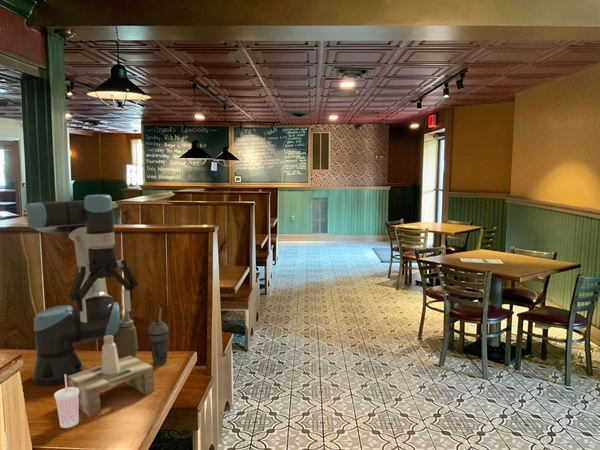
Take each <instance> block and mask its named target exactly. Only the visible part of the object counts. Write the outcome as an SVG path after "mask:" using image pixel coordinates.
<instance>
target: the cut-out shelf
mask: <svg viewBox="0 0 600 450" xmlns="http://www.w3.org/2000/svg"><path fill="white" fill-rule="evenodd" d="M119 364H120V371H118V372H117V373H114V374H111V375H104V374H103V373H102V372H101V368H102V364H101V365H97V366H94V367H92V368H91V367H90V368H88V369H85V370H83V371H82V372H79V373H76V374H73V375H70V376H68V382H67V387H77V388H79V394H78V400H79V411H82V412H83V413H84V414H85V415H87V416H88V417H90V418H91V417H94V416H96V414H97V415H99V414H101V413H102V411H101V408H102V407H101V398H100V397H101V395H100V392H101V391H104V390H106V389H108V388H111V387H113V386H117V385H119V384H123V383H125V384H126V385H127V386H130V387H131V388H133V387H134V389H135V390H137V391H139V392H140V391H141V393H143V394H144V395H148V394H151V393H153V392H155V380H154V379H155V378H154V365H151V364H149V363H147V362H145V361H144V360H143V361H142V360H140V359H138V358H137V357H135V358H134V357H132V356H127V357H124V358H121V359H119ZM98 413H99V414H98Z"/></svg>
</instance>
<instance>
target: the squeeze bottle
mask: <svg viewBox="0 0 600 450" xmlns="http://www.w3.org/2000/svg"><path fill="white" fill-rule="evenodd" d="M115 337H116V338H115V344H116V348H117V354H118V359H121V358H124V357H127V356H132V357H134V358H136V355H137V354H138V353H137V352H138V350H139V346H138V337H137V327H136V326H135V325H134V320H133V319H131V317H130V311H126V310H124V314H123V319H121V320H119V329H118V332H117V334H116V336H115Z"/></svg>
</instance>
